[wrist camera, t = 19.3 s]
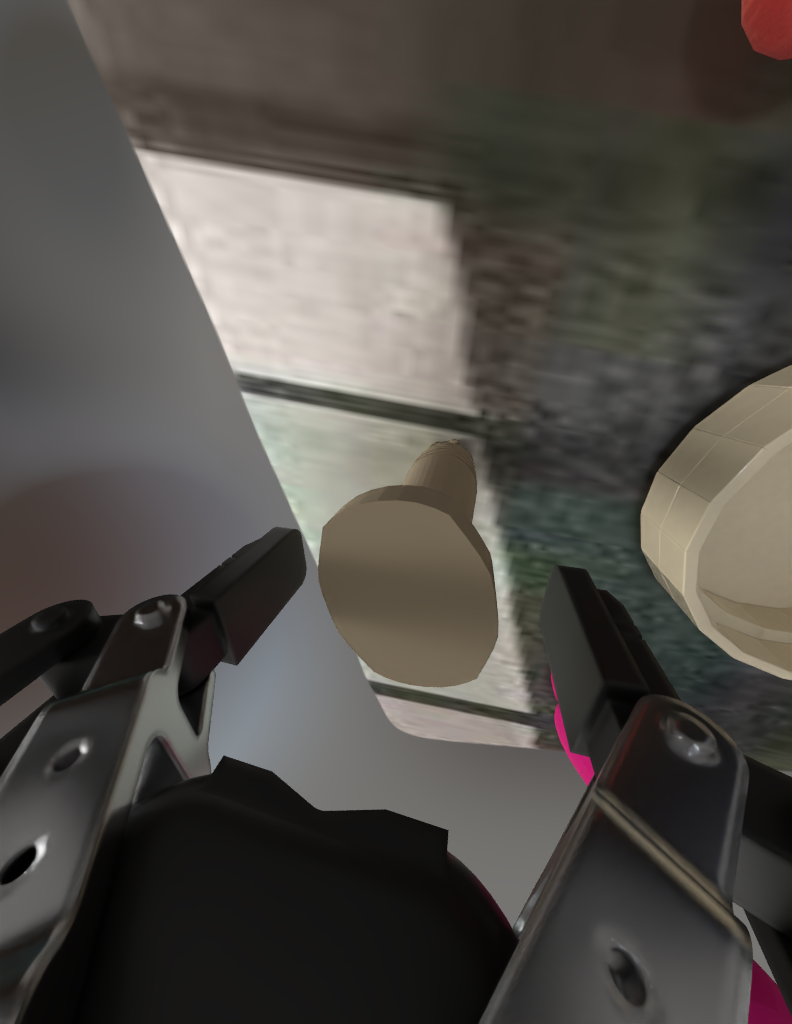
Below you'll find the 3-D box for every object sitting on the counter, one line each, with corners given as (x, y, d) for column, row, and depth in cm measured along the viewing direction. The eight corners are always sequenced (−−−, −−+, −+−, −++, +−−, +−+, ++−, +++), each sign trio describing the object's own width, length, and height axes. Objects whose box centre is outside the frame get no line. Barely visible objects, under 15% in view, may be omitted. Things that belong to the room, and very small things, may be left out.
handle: (478, 406, 19) (482, 488, 6) (488, 497, 22) (506, 693, 9) (407, 421, 21) (290, 512, 8) (424, 504, 23) (356, 681, 10)
